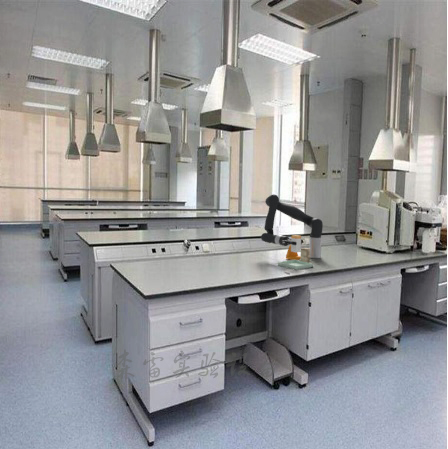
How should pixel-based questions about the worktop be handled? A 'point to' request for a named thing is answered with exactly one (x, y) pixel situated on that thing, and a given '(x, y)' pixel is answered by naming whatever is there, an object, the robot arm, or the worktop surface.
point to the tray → (295, 264)
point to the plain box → (305, 255)
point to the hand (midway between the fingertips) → (298, 243)
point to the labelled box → (298, 246)
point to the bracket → (292, 255)
